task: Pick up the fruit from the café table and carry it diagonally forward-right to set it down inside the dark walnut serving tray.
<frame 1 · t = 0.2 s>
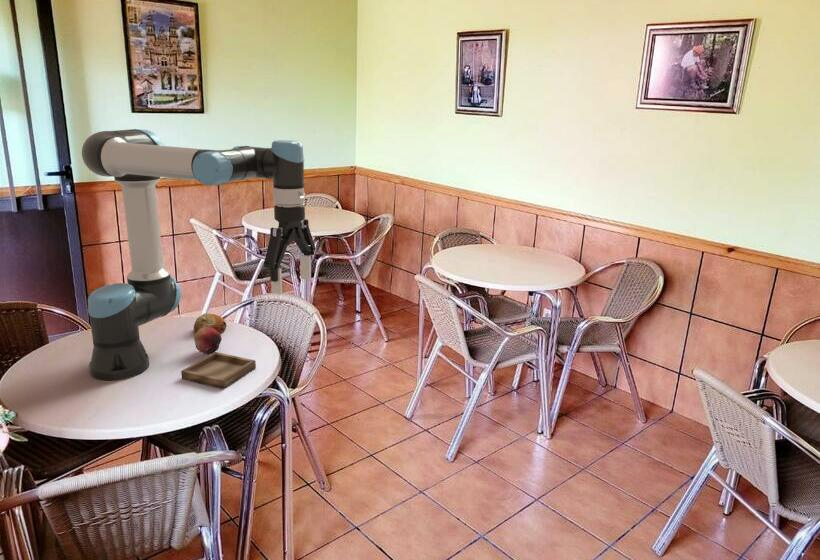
hand: (291, 285, 155), 28 cm above the table, fingers open, 13 cm apart
walnut tray: (219, 373, 167), on the table
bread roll: (210, 332, 197), on the table
fruit: (209, 353, 180), on the table
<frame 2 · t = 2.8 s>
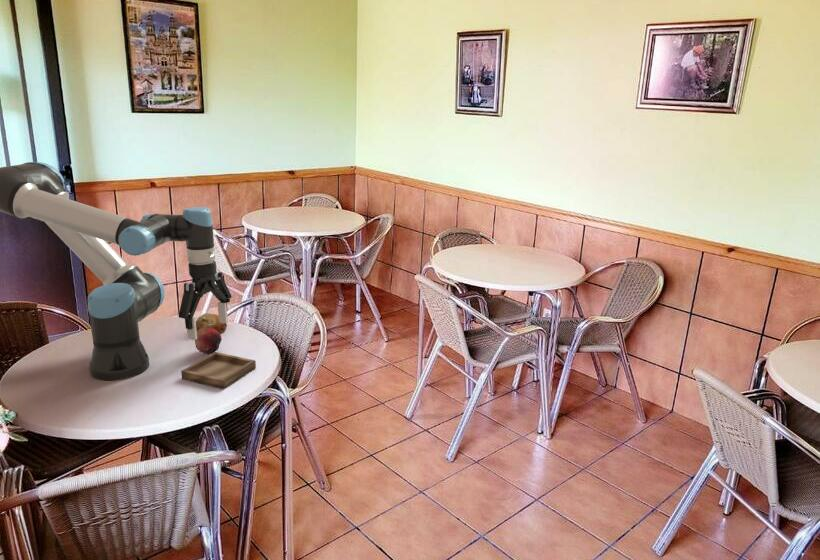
hand: (208, 330, 178), 7 cm above the table, fingers open, 13 cm apart
nothing on the table moved.
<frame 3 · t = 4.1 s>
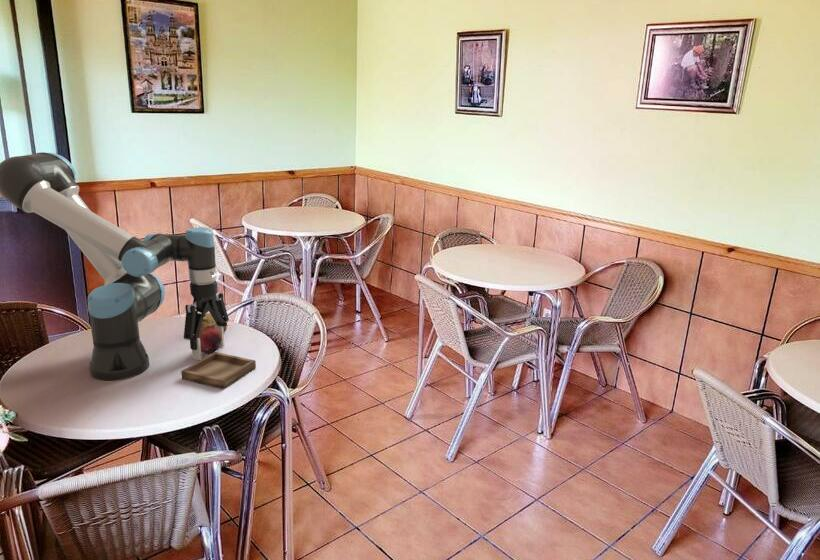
hand: (209, 352, 180), 0 cm above the table, fingers open, 10 cm apart
nothing on the table moved.
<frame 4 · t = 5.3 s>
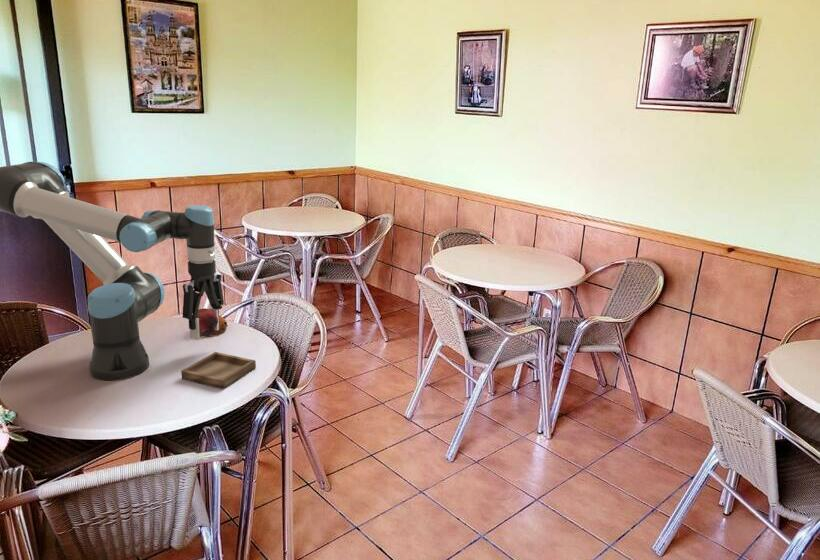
hand: (205, 333, 178), 6 cm above the table, fingers closed on fruit, 8 cm apart
fruit: (204, 335, 179), point 6 cm above the table, touching gripper
everything else where it was.
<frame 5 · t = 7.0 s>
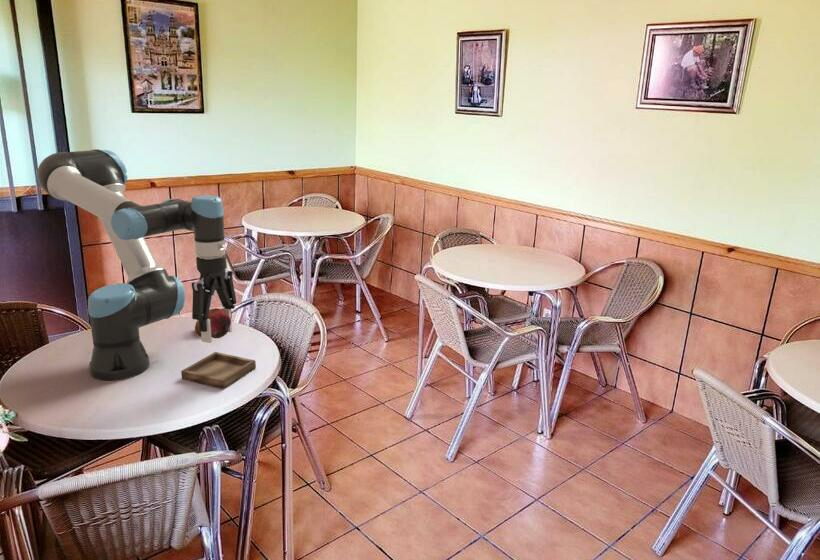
hand: (217, 336, 164), 11 cm above the table, fingers closed on fruit, 8 cm apart
fruit: (217, 337, 164), point 11 cm above the table, touching gripper
everything else where it was.
when the fingers open (3 cm above the table, at t = 9.0 s): fruit drops 1 cm, resting on walnut tray.
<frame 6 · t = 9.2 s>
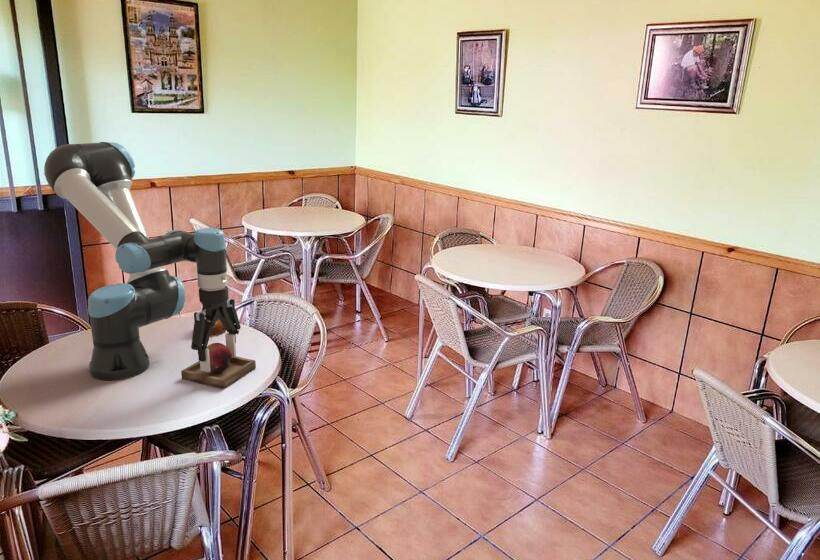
hand: (218, 363, 166), 3 cm above the table, fingers open, 10 cm apart
fruit: (218, 371, 167), point 1 cm above the table, touching walnut tray
everything else where it was.
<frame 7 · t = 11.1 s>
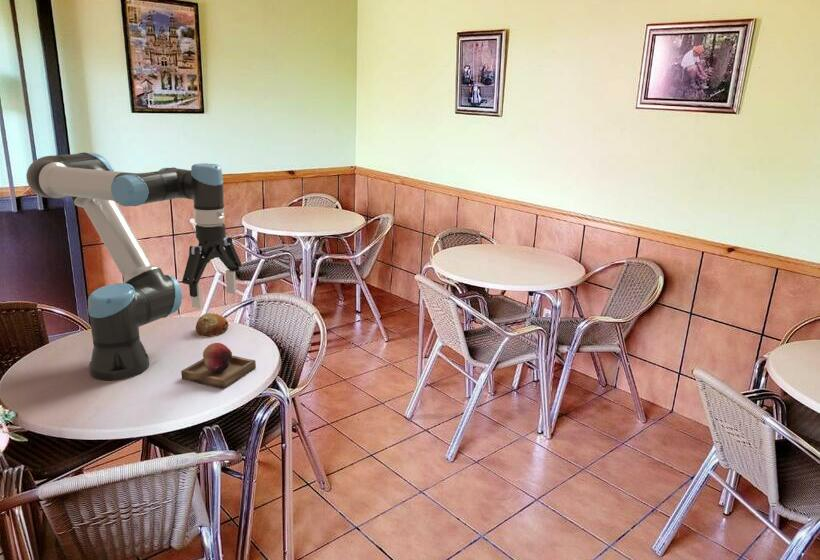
hand: (214, 300, 164), 21 cm above the table, fingers open, 13 cm apart
nothing on the table moved.
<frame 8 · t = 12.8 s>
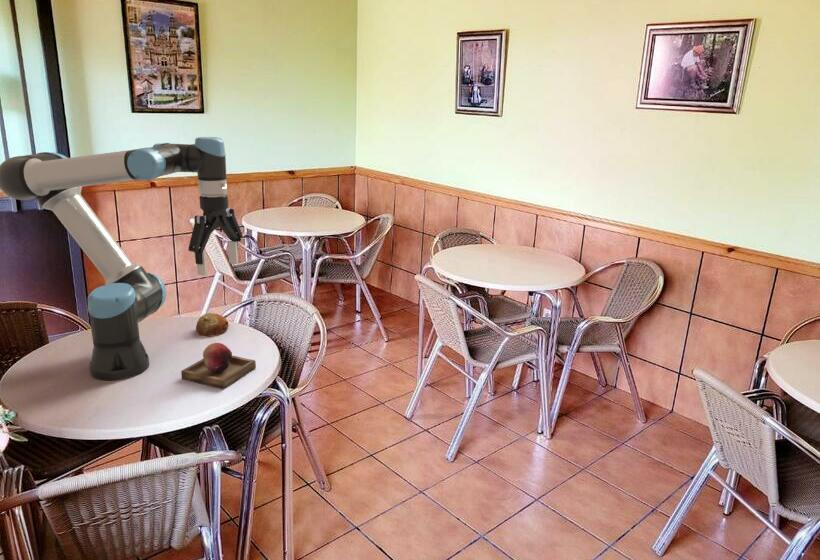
hand: (218, 268, 172), 27 cm above the table, fingers open, 13 cm apart
nothing on the table moved.
at the end: fruit inside the target area on the walnut tray (0.3 cm from its centre), point 0.8 cm above the walnut tray's base; the gripper is holding nothing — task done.
